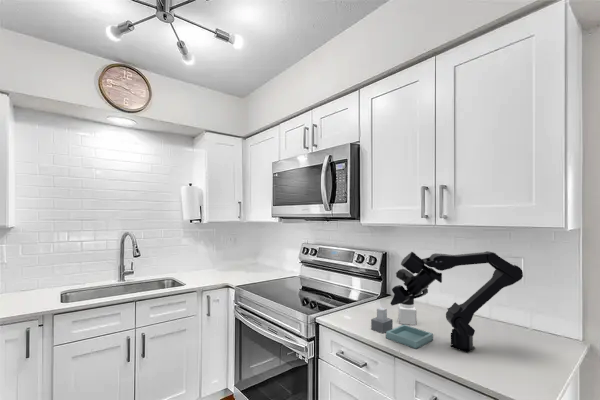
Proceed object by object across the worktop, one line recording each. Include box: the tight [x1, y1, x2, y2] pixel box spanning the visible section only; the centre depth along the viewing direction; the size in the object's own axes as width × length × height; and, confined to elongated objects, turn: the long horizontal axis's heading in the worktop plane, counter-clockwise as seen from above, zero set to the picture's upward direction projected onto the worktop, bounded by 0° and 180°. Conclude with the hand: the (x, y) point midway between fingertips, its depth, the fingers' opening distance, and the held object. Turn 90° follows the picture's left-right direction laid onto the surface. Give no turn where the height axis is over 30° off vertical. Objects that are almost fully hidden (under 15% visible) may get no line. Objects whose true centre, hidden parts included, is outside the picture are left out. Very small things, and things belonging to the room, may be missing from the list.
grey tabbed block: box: [370, 306, 394, 334], centre depth 132 cm, size 6×7×9 cm
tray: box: [385, 324, 434, 350], centre depth 122 cm, size 13×13×2 cm
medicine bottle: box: [397, 299, 417, 326], centre depth 141 cm, size 7×7×12 cm
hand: (397, 302), depth 126 cm, fingers open, 9 cm apart
